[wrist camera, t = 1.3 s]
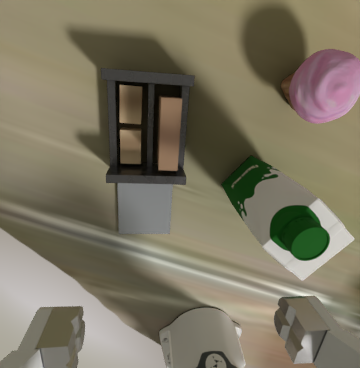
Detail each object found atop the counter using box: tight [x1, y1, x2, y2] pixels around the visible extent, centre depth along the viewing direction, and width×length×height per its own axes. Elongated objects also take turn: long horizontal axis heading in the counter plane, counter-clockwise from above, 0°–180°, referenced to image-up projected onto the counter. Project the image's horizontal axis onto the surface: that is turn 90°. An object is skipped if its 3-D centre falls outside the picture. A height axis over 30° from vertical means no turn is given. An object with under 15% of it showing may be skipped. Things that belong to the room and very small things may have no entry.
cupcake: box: [281, 49, 360, 123], centre depth 33 cm, size 9×9×10 cm
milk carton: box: [221, 156, 354, 281], centre depth 34 cm, size 9×9×20 cm
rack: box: [101, 68, 194, 185], centre depth 35 cm, size 14×11×6 cm
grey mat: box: [117, 183, 173, 234], centre depth 42 cm, size 10×9×1 cm
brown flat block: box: [157, 95, 182, 171], centre depth 34 cm, size 9×2×8 cm, turn 176°
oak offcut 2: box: [120, 128, 142, 164], centre depth 37 cm, size 5×3×2 cm, turn 176°
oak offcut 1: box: [120, 85, 143, 124], centre depth 35 cm, size 5×3×2 cm, turn 175°
